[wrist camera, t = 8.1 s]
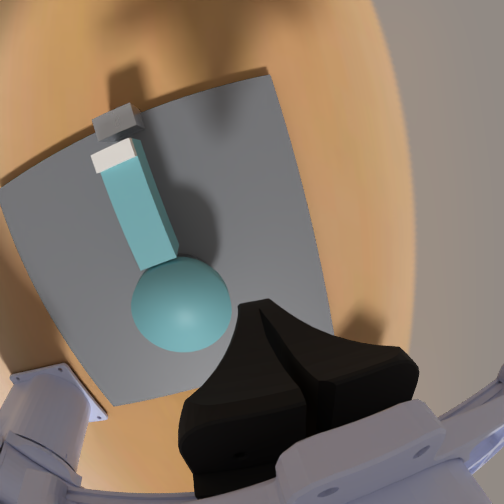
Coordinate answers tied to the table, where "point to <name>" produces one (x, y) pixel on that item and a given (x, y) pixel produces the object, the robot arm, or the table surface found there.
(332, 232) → the table surface
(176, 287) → the teal elongated piece
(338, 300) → the table surface
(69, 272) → the base board
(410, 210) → the table surface
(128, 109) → the block
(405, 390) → the robot arm
